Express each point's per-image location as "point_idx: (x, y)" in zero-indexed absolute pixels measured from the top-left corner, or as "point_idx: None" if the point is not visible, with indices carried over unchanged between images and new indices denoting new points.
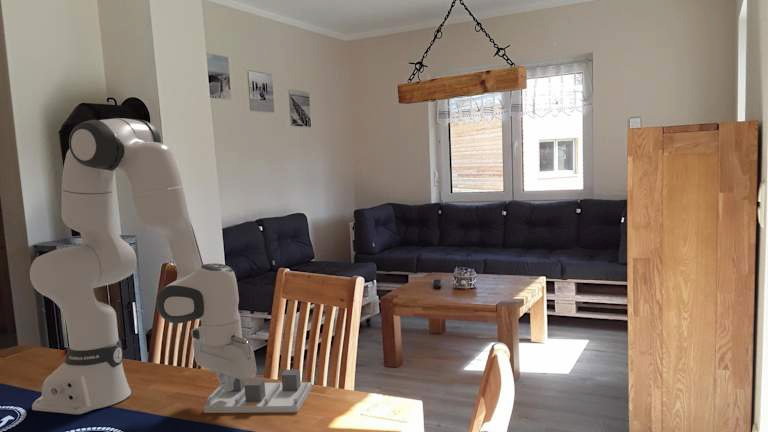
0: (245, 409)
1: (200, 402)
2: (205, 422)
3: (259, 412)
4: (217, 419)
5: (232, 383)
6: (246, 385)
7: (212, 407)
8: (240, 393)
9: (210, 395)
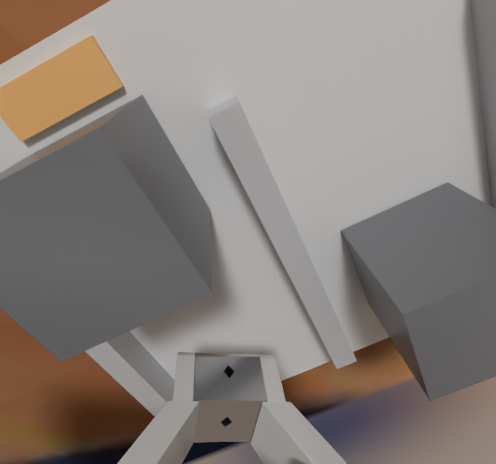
0: None
1: (26, 331)
2: None
3: None
4: (289, 387)
5: (282, 401)
6: (447, 392)
7: None
8: (308, 304)
9: (140, 400)
